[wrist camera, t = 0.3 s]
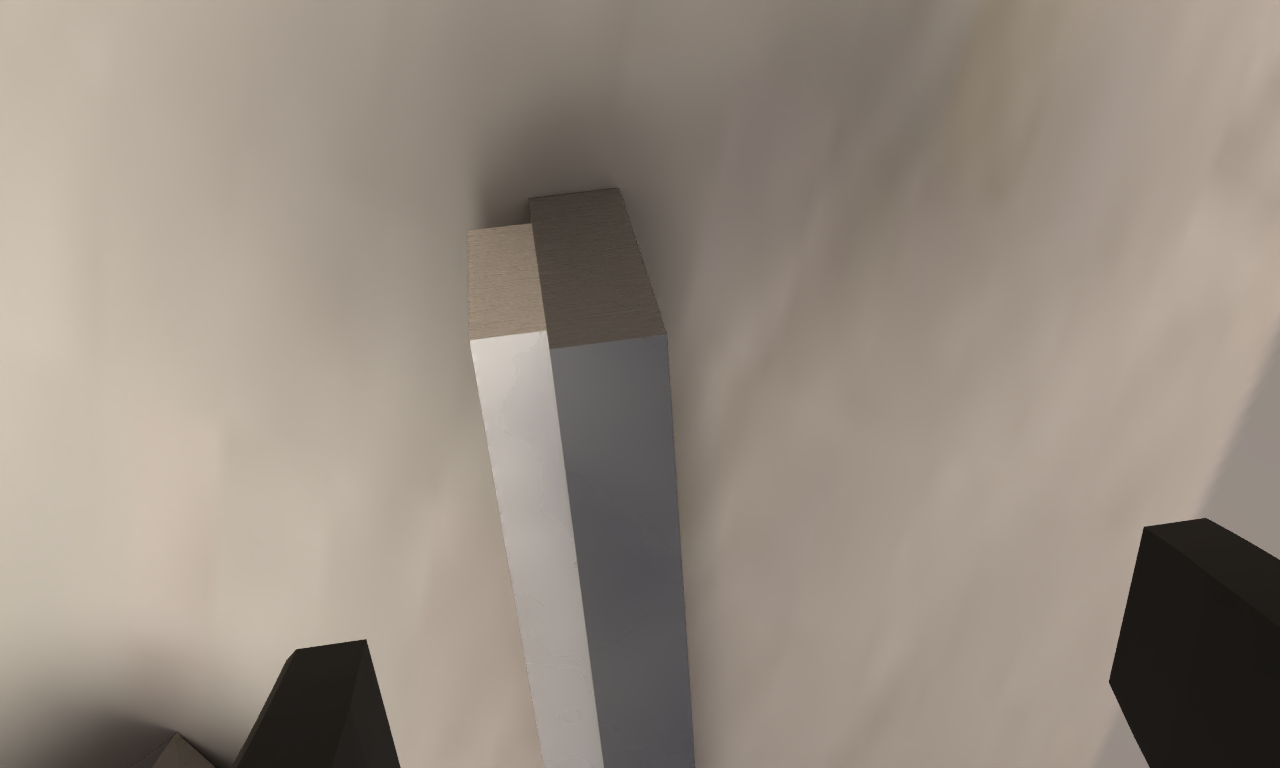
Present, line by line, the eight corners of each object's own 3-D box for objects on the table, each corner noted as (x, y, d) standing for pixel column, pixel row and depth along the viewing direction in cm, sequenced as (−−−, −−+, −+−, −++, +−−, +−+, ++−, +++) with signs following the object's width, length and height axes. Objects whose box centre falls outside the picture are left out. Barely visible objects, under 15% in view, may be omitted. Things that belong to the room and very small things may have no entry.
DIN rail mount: (679, 908, 29) (717, 1114, 25) (584, 924, 29) (606, 1135, 25) (618, 188, 18) (666, 334, 14) (466, 206, 18) (469, 360, 14)
